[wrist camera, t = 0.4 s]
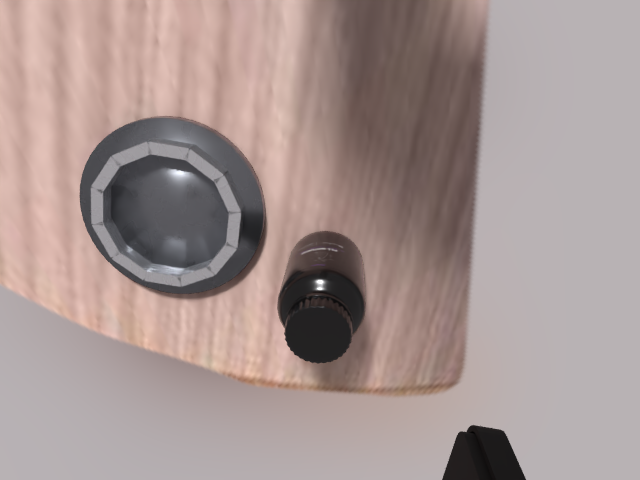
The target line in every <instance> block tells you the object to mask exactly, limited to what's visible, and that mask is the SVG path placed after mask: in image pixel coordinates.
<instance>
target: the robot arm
mask: <svg viewBox="0 0 640 480" xmlns="http://www.w3.org/2000/svg"><path fill="white" fill-rule="evenodd" d="M442 480H526V479H525V476H524V474H523V472H522V470H521V467H520V465H519V463H518V461H517V458H516V456H515V454H514V452H513V449H512V447H511V445H510V443H509V440H508V438H507V436H506V434H505V433H504V431H502V430H499V429H493V428H486V427H481V426H475V425H472V426H470V427H469V428H468V430H467V432H459V433H458V435H457V437H456V440H455V443H454V446H453V449H452V452H451V455H450V458H449V461H448V464H447V467H446V470H445V473H444V476H443V479H442Z"/></svg>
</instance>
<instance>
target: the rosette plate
mask: <svg viewBox="0 0 640 480" xmlns="http://www.w3.org/2000/svg"><path fill="white" fill-rule="evenodd" d="M80 206H81V212H82V216H83V220H84V223H85V226H86V228H87V231H88V233H89V235H90V237H91V239H92V241H93V242H94V244H95V245H96V247H97V248H98V250H99V251H100V252H101V254H102V255H103V256H104V257H105V258H106V260H107V261H108V262H110V263H111V264H112V265H113V266H114V267H115V268H116V269H117V270H119V271H120V272H121V273H122V274H124V275H125V276H127V277H128V278H130V279H132V280H133V281H135V282H137V283H139V284H142V285H144V286H146V287H149V288H152V289H155V290H158V291H163V292H167V293H177V294H190V293H198V292H203V291H207V290H211V289H213V288H216V287H218V286H221V285H223V284H224V283H226V282H228V281H230V280H231V279H232V278H234V277H235V276H236V275H238V274H239V273H240V272H241V271H242V270H243V269H244V268H245V267H246V265H247V264H248V263H249V261H250V260H251V258H252V257H253V255H254V253H255V251H256V249H257V247H258V245H259V242H260V239H261V236H262V233H263V229H264V224H265V202H264V196H263V192H262V188H261V185H260V182H259V179H258V177H257V175H256V173H255V171H254V169H253V167H252V166H251V164H250V163H249V161H248V160H247V158H246V157H245V156H244V154H243V153H242V152H241V151H240V150H239V149H238V148H237V147H236V146H235V145H234V144H233V143H232V142H231V141H230V140H229V139H227V138H226V137H225V136H223V135H222V134H220V133H219V132H217V131H216V130H214V129H212V128H210V127H208V126H206V125H204V124H201V123H199V122H196V121H193V120H189V119H185V118H181V117H171V116H157V117H150V118H144V119H141V120H138V121H135V122H132V123H129V124H127V125H125V126H123V127H121V128H119V129H117V130H115V131H114V132H112V133H111V134H109V135H108V136H107V137H106V138H104V139H103V140H102V141H101V142H100V143H99V144H98V146H97V147H96V148H95V150H94V151H93V152H92V154H91V155H90V157H89V159H88V161H87V163H86V165H85V168H84V171H83V174H82V179H81V184H80Z"/></svg>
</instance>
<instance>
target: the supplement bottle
mask: <svg viewBox="0 0 640 480" xmlns="http://www.w3.org/2000/svg"><path fill="white" fill-rule="evenodd" d="M277 309H278V315H279V318H280V321H281V323H282V325H283V327H284V328H285V333H284V334H285V336H286V337H285V340H286V341H287V345H288V346H289V347H290V350H291V351H293V352H294V354H295V355H297V356H298V357H299V358H301V359H304V360H305V361H310V362H312V363H314V362H315V363H326V362H331V361H333V360H337V359H338V357H341V356H342V355H343V353H345V352H346V350H347V349H348V348H349V346H350V343H351V341H352V336H353V335H354V334H355V333H356V332H357V331H358V329H359V328H360V326H361V324H362V322H363V319H364V316H365V286H364V268H363V260H362V256H361V254H360V251H359V250H358V248H357V247H356V245H355V244H354V243H353V242H352V241H351V240H350V239H348V238H347V237H345V236H343V235H341V234H339V233H335V232H330V231H321V232H315V233H312V234H310V235H308V236H306V237H304V238H303V239H301V240H300V241H299V242H298V243H297V244H296V246H295V247H294V249H293V250H292V252H291V255H290V258H289V261H288V265H287V268H286V272H285V275H284V279H283V282H282V286H281V289H280V293H279V297H278V304H277Z"/></svg>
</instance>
